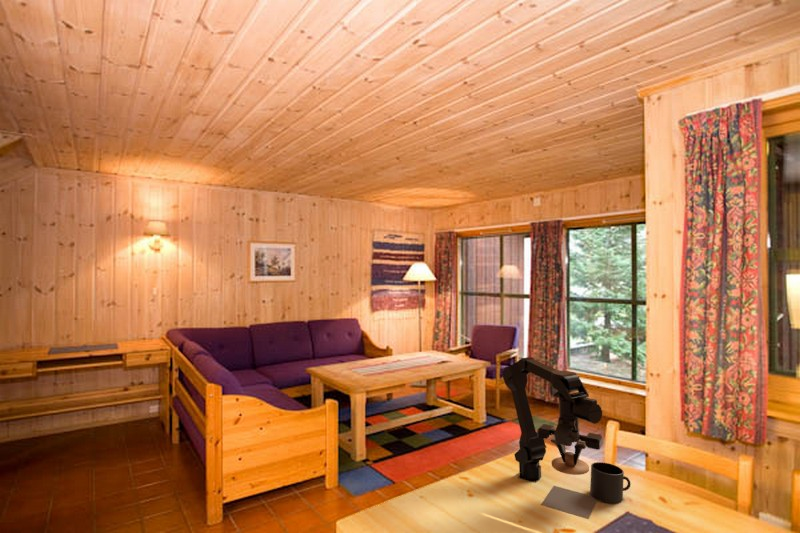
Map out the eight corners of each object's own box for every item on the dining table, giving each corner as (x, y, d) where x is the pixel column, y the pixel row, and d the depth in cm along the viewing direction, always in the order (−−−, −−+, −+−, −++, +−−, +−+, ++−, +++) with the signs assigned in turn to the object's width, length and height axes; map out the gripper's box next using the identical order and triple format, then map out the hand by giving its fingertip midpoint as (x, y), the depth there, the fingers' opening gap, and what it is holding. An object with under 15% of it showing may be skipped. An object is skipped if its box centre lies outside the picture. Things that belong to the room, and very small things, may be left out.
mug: (636, 506, 135) (637, 476, 135) (596, 502, 136) (597, 473, 136) (623, 491, 144) (624, 464, 144) (586, 488, 145) (587, 460, 145)
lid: (547, 469, 136) (546, 456, 136) (557, 456, 145) (556, 444, 145) (584, 478, 130) (584, 464, 130) (592, 464, 139) (592, 451, 139)
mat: (540, 506, 136) (540, 504, 136) (553, 487, 147) (553, 485, 147) (588, 520, 128) (588, 518, 128) (598, 499, 139) (598, 497, 139)
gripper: (530, 415, 136) (532, 465, 136) (594, 427, 126) (596, 481, 126) (542, 406, 145) (543, 453, 145) (602, 416, 135) (604, 466, 135)
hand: (570, 463), depth 138 cm, fingers closed on lid, 3 cm apart
